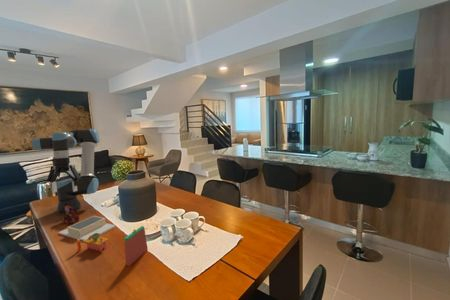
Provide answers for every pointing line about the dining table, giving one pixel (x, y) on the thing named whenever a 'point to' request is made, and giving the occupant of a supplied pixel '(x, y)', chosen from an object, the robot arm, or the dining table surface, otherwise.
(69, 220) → the toy fire truck
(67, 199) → the robot arm
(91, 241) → the toy building block set
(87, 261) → the dining table surface
